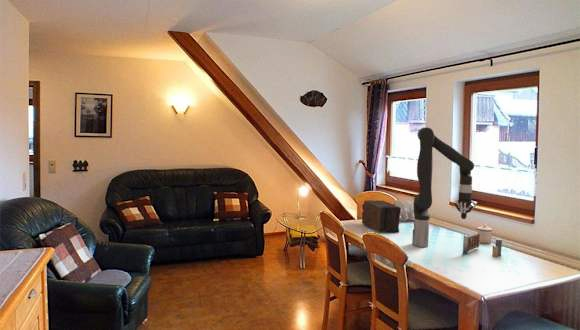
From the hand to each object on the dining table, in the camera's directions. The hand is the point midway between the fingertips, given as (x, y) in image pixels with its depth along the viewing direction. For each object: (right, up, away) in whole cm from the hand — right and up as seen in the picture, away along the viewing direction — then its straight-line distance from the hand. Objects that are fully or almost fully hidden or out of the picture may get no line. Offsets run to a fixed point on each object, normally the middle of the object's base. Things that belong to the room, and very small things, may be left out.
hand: (463, 218), depth 260 cm
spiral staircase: (-13, -12, +79) cm, 81 cm away
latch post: (+14, -20, -13) cm, 28 cm away
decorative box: (-42, -14, +49) cm, 66 cm away
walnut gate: (+3, -18, -5) cm, 19 cm away
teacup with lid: (+21, -18, +20) cm, 34 cm away
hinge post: (-4, -20, -11) cm, 23 cm away
